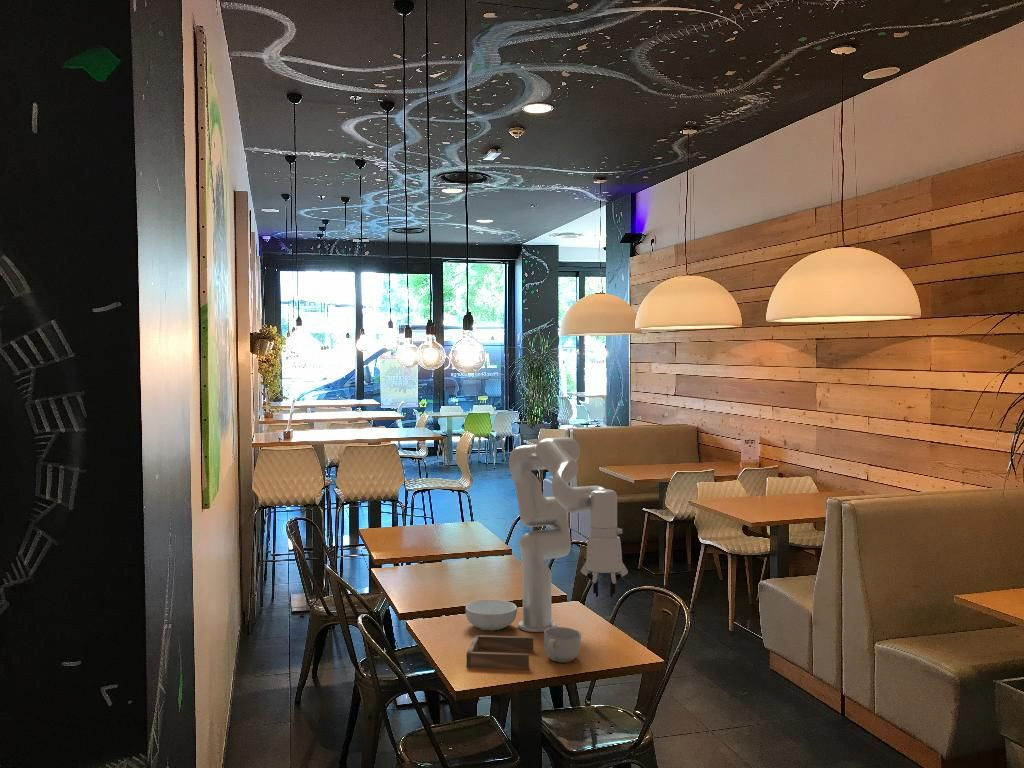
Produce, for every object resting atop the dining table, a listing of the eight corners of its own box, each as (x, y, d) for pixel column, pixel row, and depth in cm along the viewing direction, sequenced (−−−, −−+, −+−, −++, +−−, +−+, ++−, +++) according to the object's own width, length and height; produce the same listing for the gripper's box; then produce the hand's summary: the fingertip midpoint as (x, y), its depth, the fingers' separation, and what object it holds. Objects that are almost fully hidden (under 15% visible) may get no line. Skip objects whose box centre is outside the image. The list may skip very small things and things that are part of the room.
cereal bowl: (455, 631, 267) (455, 609, 267) (481, 617, 282) (481, 597, 282) (501, 638, 259) (501, 616, 259) (525, 624, 274) (525, 603, 274)
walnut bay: (475, 648, 250) (475, 635, 250) (533, 650, 248) (533, 637, 248) (466, 667, 233) (466, 653, 233) (528, 669, 232) (528, 655, 231)
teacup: (558, 650, 248) (558, 624, 248) (588, 658, 241) (588, 631, 241) (529, 663, 237) (529, 635, 237) (560, 671, 230) (560, 642, 230)
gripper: (632, 530, 240) (632, 593, 240) (575, 529, 242) (575, 592, 242) (633, 535, 232) (633, 600, 233) (574, 534, 234) (575, 598, 234)
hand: (604, 595), depth 237 cm, fingers open, 3 cm apart
